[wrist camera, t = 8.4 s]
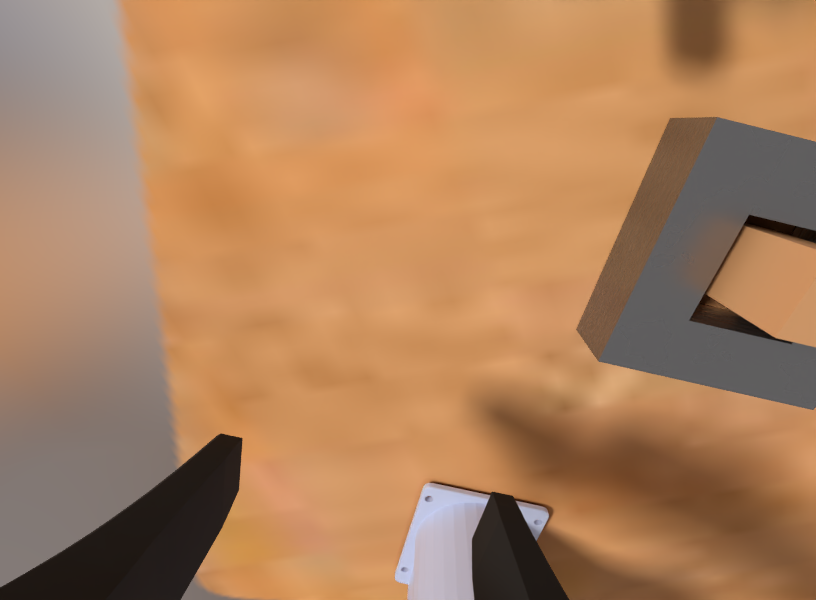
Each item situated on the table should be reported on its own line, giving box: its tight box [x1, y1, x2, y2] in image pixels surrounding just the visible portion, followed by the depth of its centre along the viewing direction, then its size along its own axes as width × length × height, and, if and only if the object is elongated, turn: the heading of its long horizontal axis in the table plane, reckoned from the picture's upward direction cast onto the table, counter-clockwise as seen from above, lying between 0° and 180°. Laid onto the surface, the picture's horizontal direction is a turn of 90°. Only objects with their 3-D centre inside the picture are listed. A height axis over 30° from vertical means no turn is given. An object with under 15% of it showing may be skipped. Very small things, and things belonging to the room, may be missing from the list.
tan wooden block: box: [705, 223, 816, 347], centre depth 16 cm, size 3×3×6 cm
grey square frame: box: [576, 117, 816, 410], centre depth 17 cm, size 10×10×3 cm
